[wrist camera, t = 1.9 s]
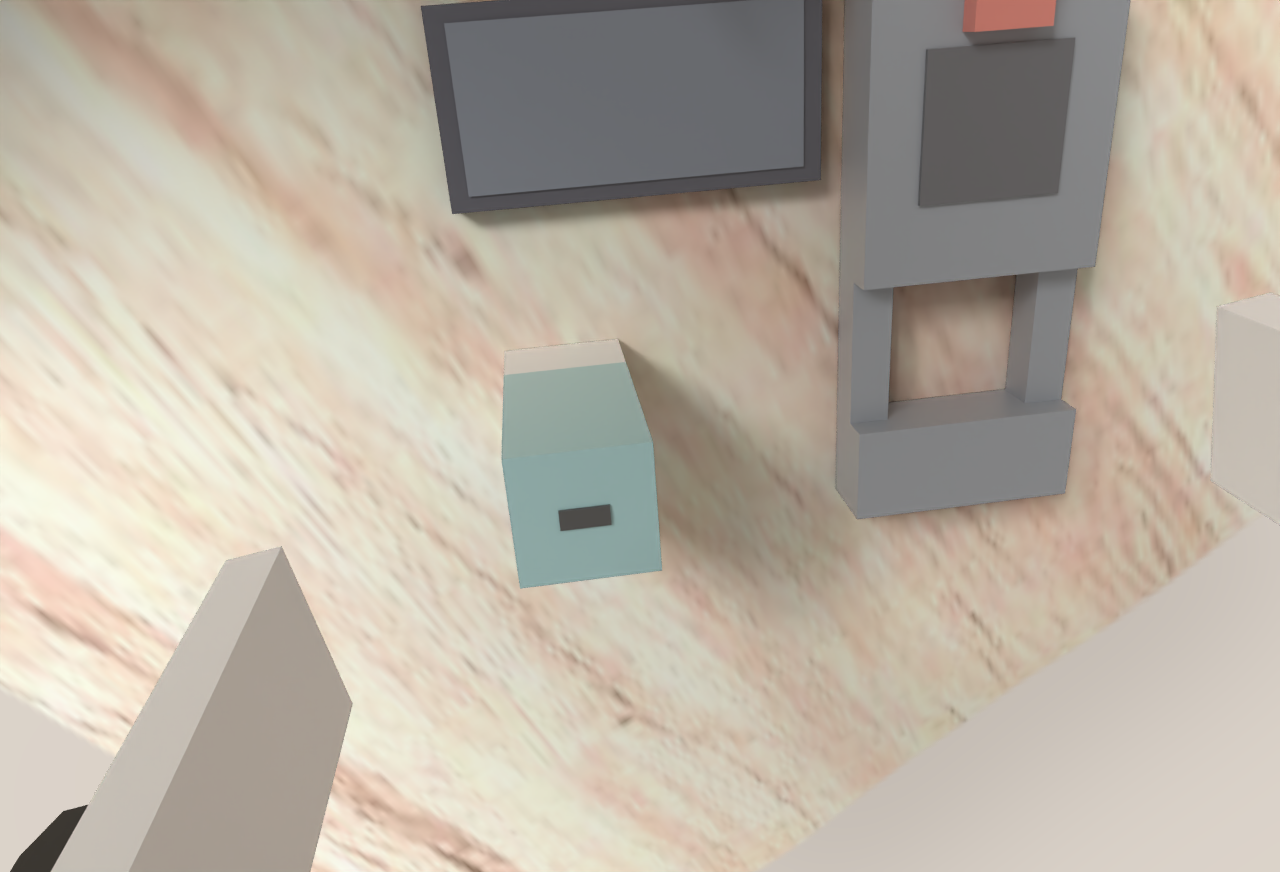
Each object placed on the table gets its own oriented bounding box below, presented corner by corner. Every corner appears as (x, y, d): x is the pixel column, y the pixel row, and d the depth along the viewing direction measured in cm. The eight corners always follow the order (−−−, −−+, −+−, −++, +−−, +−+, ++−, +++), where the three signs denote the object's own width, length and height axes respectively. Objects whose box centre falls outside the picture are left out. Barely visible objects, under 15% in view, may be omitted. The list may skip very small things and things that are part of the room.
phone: (454, 209, 30) (452, 214, 29) (423, 6, 28) (420, 6, 27) (812, 175, 31) (821, 180, 30) (813, -23, 29) (823, -24, 28)
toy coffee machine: (845, -25, 29) (883, -31, 26) (1088, -43, 30) (1153, -51, 27) (835, 488, 36) (864, 530, 33) (1031, 464, 37) (1076, 503, 34)
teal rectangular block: (518, 454, 34) (520, 590, 26) (504, 350, 32) (501, 460, 24) (626, 441, 34) (662, 572, 26) (617, 338, 33) (653, 443, 25)
